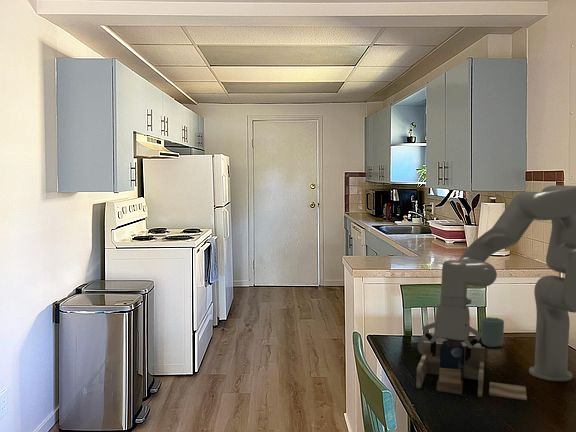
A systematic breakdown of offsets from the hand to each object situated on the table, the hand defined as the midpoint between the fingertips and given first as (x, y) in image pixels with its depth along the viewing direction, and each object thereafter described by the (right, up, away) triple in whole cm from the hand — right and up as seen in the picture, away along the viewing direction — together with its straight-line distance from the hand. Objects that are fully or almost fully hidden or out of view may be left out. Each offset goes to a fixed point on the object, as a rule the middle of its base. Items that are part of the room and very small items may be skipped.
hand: (450, 357), depth 176 cm
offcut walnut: (-2, -8, -7) cm, 11 cm away
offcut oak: (-2, -5, -6) cm, 8 cm away
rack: (0, -8, -1) cm, 8 cm away
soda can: (0, -8, +1) cm, 8 cm away
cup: (+27, -6, +40) cm, 49 cm away
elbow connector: (+4, -7, +19) cm, 21 cm away
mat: (+15, -8, -7) cm, 18 cm away
